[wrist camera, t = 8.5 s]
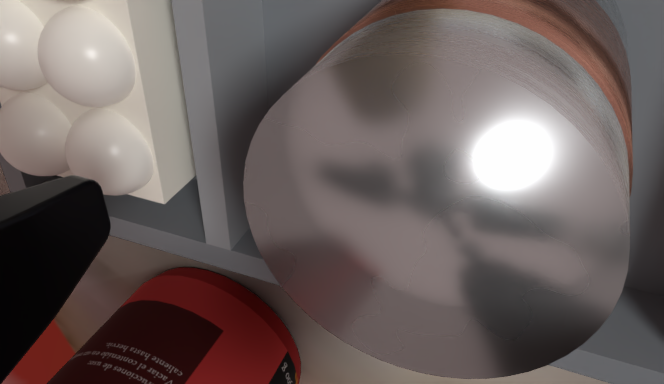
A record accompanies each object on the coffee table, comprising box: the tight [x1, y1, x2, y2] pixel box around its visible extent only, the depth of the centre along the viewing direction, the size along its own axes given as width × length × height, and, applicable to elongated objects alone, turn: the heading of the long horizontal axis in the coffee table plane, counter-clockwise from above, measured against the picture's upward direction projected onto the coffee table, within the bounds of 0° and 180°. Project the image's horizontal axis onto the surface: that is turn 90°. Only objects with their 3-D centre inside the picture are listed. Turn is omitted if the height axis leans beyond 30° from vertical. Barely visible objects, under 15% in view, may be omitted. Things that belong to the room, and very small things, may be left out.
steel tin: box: [243, 0, 633, 379], centre depth 11 cm, size 6×6×7 cm
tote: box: [0, 0, 664, 384], centre depth 14 cm, size 13×21×4 cm, turn 90°
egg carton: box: [0, 0, 196, 204], centre depth 15 cm, size 8×5×4 cm, turn 0°
